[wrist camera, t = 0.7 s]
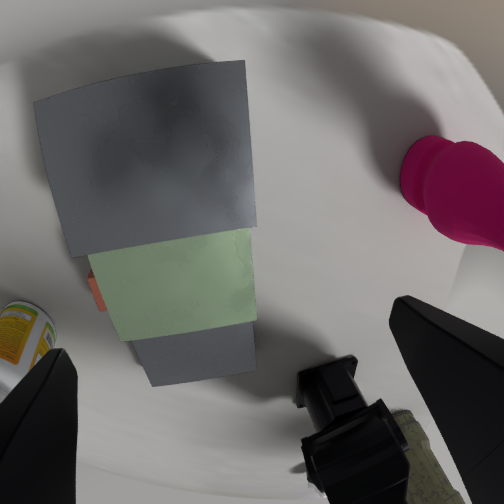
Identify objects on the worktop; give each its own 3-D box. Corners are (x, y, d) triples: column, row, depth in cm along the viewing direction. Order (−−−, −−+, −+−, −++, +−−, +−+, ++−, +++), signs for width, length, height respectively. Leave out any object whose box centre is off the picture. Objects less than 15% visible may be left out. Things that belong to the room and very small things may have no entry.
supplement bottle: (-7, 317, 20) (-47, 403, 12) (22, 287, 20) (-24, 383, 12) (36, 355, 23) (11, 445, 15) (69, 332, 23) (44, 432, 14)
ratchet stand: (252, 353, 28) (268, 407, 22) (146, 370, 26) (145, 426, 21) (225, 68, 16) (244, 60, 11) (66, 99, 15) (22, 106, 10)
